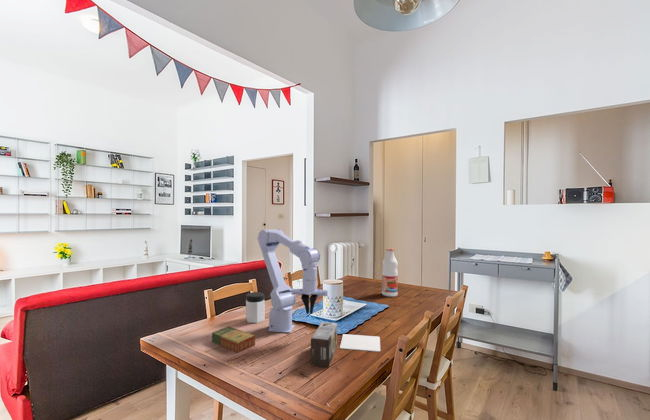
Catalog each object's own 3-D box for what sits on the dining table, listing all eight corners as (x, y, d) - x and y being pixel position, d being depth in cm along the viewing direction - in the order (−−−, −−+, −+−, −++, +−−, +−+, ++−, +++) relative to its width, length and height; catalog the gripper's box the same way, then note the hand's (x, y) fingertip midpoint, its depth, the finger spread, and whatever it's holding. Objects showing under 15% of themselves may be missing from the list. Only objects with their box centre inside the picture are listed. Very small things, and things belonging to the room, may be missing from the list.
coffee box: (337, 346, 120) (329, 368, 104) (321, 344, 121) (310, 365, 105) (337, 322, 119) (329, 340, 104) (321, 321, 121) (310, 338, 105)
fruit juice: (389, 291, 197) (389, 247, 197) (400, 295, 190) (401, 248, 189) (378, 294, 192) (379, 248, 192) (390, 297, 184) (390, 250, 184)
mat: (339, 348, 118) (339, 347, 118) (343, 334, 131) (343, 334, 131) (380, 351, 115) (380, 351, 115) (379, 337, 128) (379, 336, 128)
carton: (238, 354, 113) (238, 342, 113) (211, 342, 123) (211, 331, 123) (255, 345, 120) (255, 334, 120) (228, 335, 130) (228, 325, 129)
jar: (244, 317, 149) (244, 292, 149) (261, 315, 152) (262, 291, 152) (247, 324, 141) (247, 297, 141) (265, 322, 144) (266, 295, 144)
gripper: (289, 280, 123) (289, 315, 123) (326, 282, 121) (326, 317, 121) (294, 276, 130) (293, 309, 130) (328, 278, 128) (328, 311, 128)
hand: (309, 313), depth 126 cm, fingers closed
